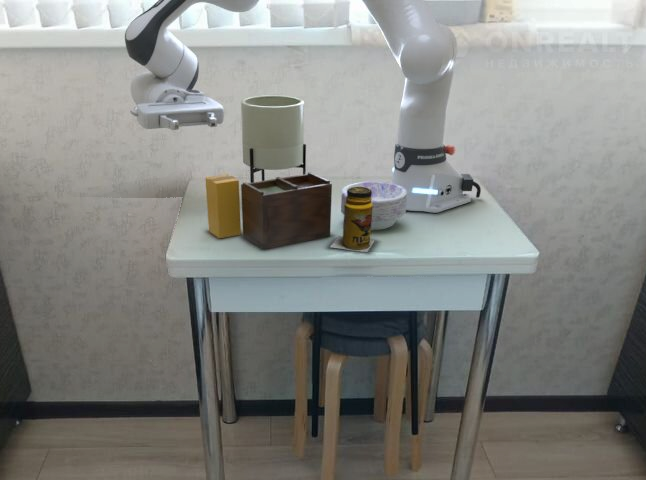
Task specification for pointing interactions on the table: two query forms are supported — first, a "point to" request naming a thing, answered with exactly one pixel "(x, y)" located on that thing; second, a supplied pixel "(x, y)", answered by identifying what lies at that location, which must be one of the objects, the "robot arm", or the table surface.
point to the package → (223, 205)
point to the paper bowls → (382, 202)
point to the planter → (273, 133)
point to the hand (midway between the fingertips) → (195, 124)
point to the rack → (286, 210)
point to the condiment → (356, 221)
